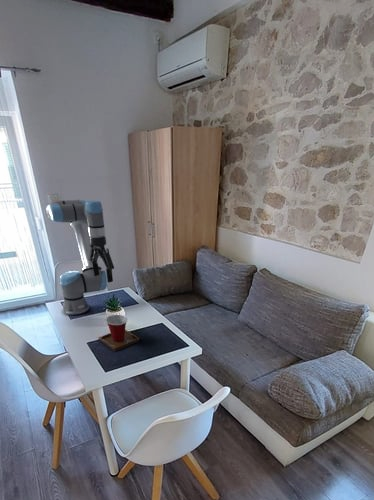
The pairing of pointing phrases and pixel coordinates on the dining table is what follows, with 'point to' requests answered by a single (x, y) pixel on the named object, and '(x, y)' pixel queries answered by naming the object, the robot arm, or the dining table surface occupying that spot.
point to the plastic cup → (117, 327)
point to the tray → (127, 341)
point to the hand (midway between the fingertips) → (103, 278)
